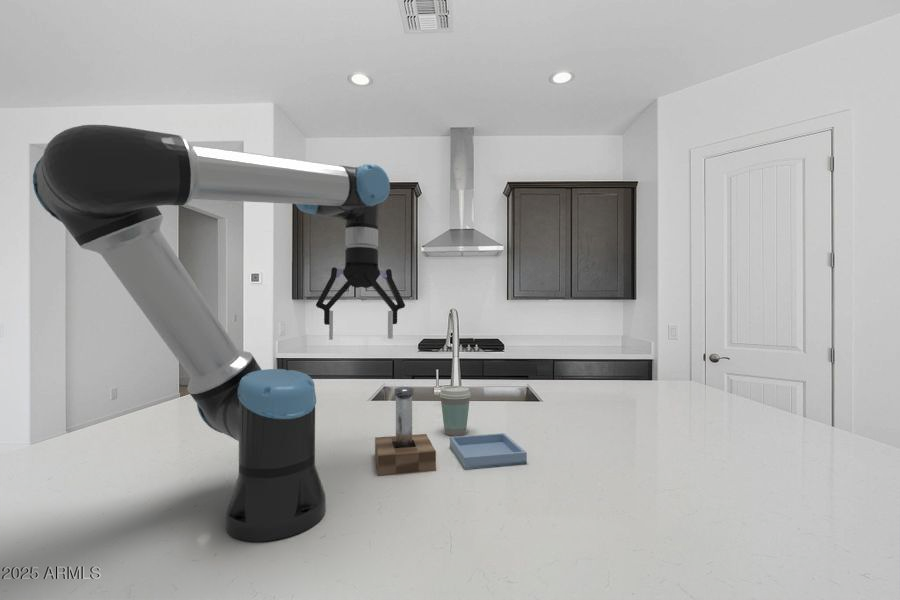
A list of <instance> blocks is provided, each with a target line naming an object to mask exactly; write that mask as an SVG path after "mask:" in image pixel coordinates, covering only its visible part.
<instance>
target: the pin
mask: <svg viewBox="0 0 900 600" xmlns="http://www.w3.org/2000/svg"><path fill="white" fill-rule="evenodd" d="M393 389H394V396H395V436H396V448H408V447H412V435H413V396H414V392H415V391H414V387H411V386H400V387H395V388H393Z"/></svg>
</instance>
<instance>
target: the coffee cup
mask: <svg viewBox="0 0 900 600" xmlns="http://www.w3.org/2000/svg"><path fill="white" fill-rule="evenodd" d="M471 396H472V395H471V391H470V388H469V387H467V386H461V385H449V386H443V387H441V389H440V392H439V397H440V403H441V404H440V405H441V412H442V420H443V421H442V422H443V429H444V430H443V431H444V432H443V433H444V435H447V436H450V437H459V436H465V435H466V434H467V426H468V417H469V411H470V410H469V407H470V399H471Z"/></svg>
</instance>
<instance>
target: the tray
mask: <svg viewBox="0 0 900 600" xmlns="http://www.w3.org/2000/svg"><path fill="white" fill-rule="evenodd" d="M449 448H450V450H451V452H452V453H453V454H454V456H455V457H456V459H457V460H458V461H459V463H460V465H461V467H462V468H463V469H464V470H473V469H474V470H475V469H483V468H484V469H485V468H486V469H487V468H497V467H507V466H519V465H520V466H521V465H527V461H528V460H527V458H528V457H527V451H526V450H524V448H522V447H521V446H520V445H519V444H518V443H516V442H515V441H514V440H513V439H512V438H511V437H509V436H508V435H507V434H506V433H503V432H501V433H500V432H499V433H487V434H477V435H475V434H474V435H461V436H450V437H449Z"/></svg>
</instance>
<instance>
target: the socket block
mask: <svg viewBox="0 0 900 600" xmlns="http://www.w3.org/2000/svg"><path fill="white" fill-rule="evenodd" d="M374 457H375V463H376V464H375V465H376V470H377V476H378V477H379V476H387V475H388V476H389V475H400V474H409V473H410V474H411V473H420V472H423V473H424V472H431V471H437V460H436V459H437V452H436V449H435V447H434V446H433V444H432V442H431V440H430V438H429V436H428V435H427V433H424V434H423V433H422V434H421V433H420V434H412V447H408V448H396V435H393V436H379V437H378V436H377V437H374Z"/></svg>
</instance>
